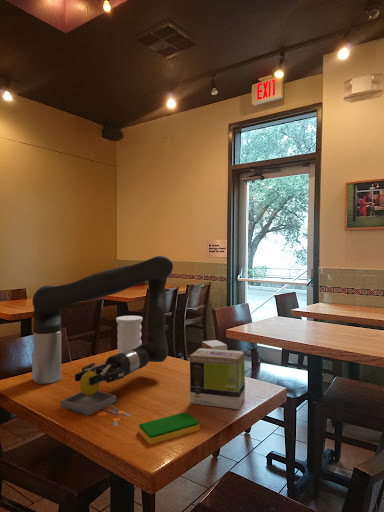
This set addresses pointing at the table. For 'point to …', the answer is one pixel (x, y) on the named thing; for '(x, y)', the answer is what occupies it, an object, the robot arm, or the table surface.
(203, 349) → the tea box
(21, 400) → the table surface
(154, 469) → the table surface
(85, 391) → the lemon
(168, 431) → the dish sponge
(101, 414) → the key chain
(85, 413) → the tray
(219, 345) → the small box
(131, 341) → the decorative container
